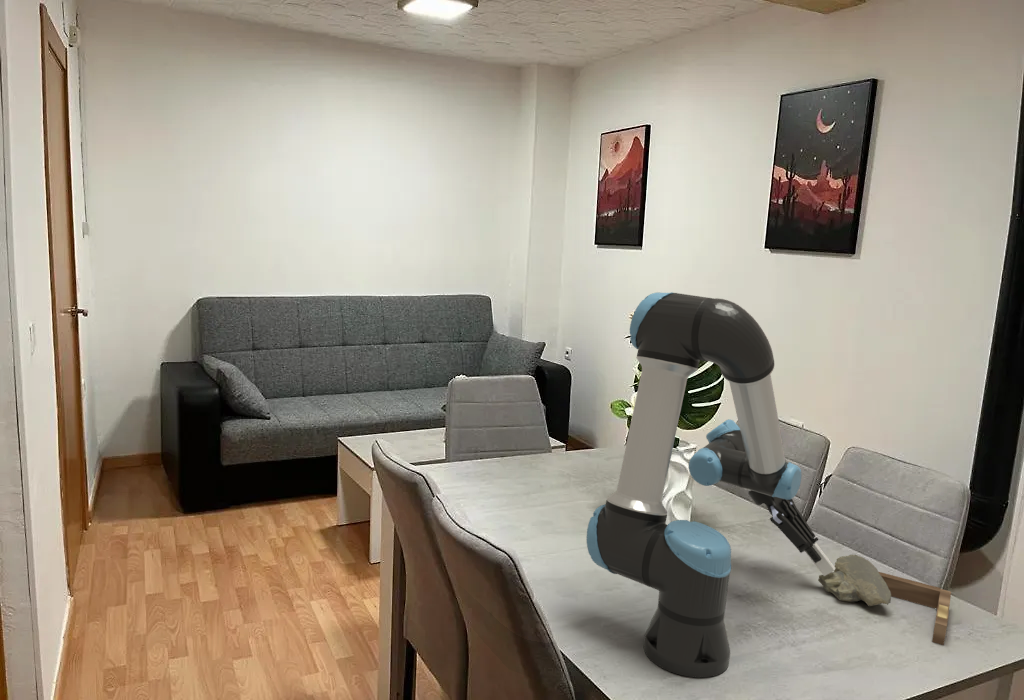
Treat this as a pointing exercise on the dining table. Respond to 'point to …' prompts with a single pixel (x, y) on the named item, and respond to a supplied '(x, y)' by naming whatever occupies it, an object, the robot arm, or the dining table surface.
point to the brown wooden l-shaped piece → (923, 600)
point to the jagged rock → (856, 581)
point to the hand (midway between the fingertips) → (829, 572)
